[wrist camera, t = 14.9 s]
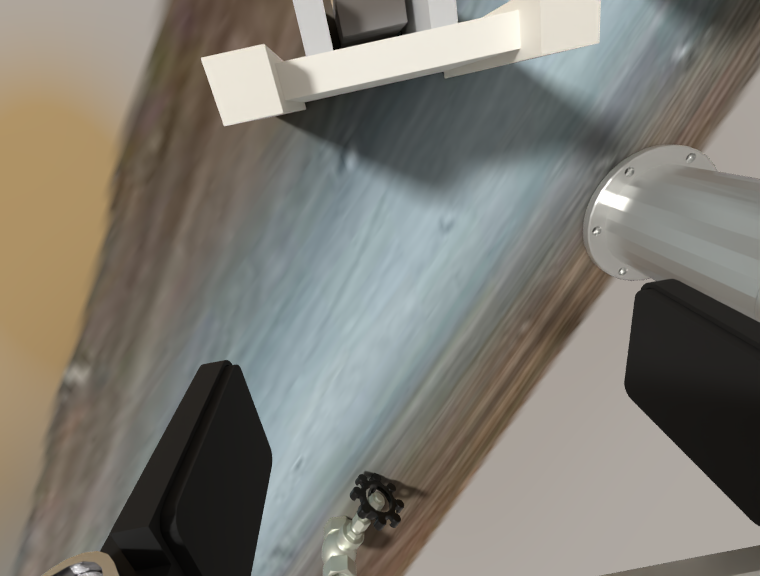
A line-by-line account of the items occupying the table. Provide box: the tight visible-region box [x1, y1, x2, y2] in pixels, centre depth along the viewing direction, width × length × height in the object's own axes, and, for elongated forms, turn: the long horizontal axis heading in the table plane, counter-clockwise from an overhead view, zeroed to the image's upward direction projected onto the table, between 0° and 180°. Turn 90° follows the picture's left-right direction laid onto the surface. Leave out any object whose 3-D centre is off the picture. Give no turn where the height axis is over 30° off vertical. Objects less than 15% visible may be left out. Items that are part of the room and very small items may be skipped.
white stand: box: [201, 0, 601, 126], centre depth 23 cm, size 16×6×16 cm, turn 101°
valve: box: [322, 473, 404, 576], centre depth 47 cm, size 7×7×12 cm
